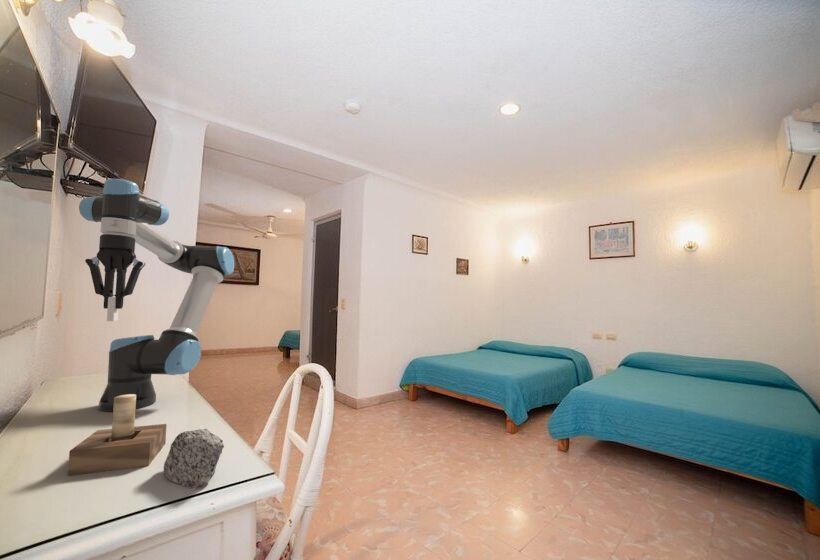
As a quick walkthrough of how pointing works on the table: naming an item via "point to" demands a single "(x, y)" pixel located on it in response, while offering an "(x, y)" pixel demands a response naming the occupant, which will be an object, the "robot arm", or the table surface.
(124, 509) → the table surface
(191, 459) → the rock
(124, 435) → the peg
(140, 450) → the board
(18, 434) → the table surface
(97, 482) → the table surface
